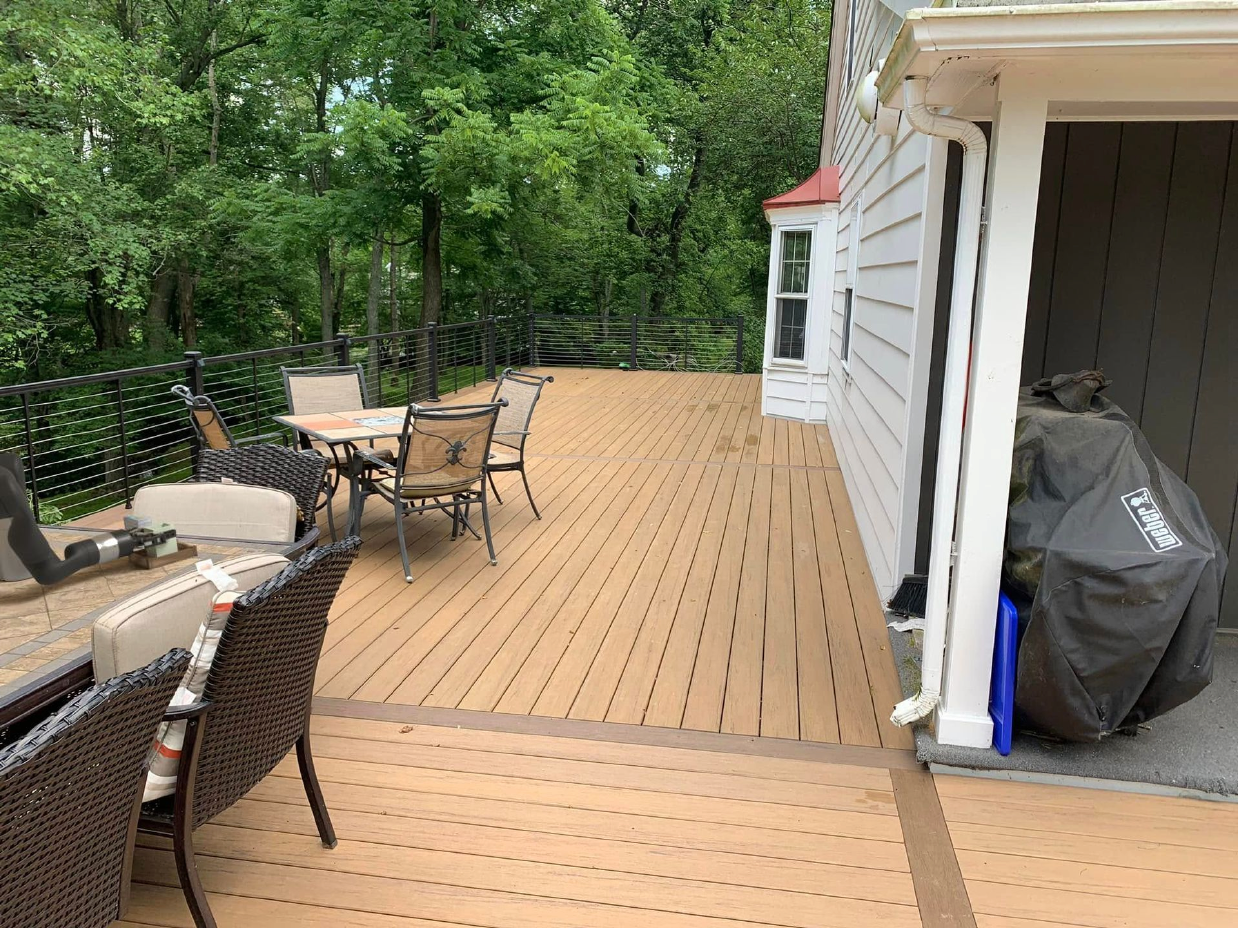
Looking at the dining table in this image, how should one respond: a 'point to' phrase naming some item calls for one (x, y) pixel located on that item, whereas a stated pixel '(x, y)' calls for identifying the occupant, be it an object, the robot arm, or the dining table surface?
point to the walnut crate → (151, 563)
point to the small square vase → (163, 548)
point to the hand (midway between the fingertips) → (166, 530)
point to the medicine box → (137, 521)
